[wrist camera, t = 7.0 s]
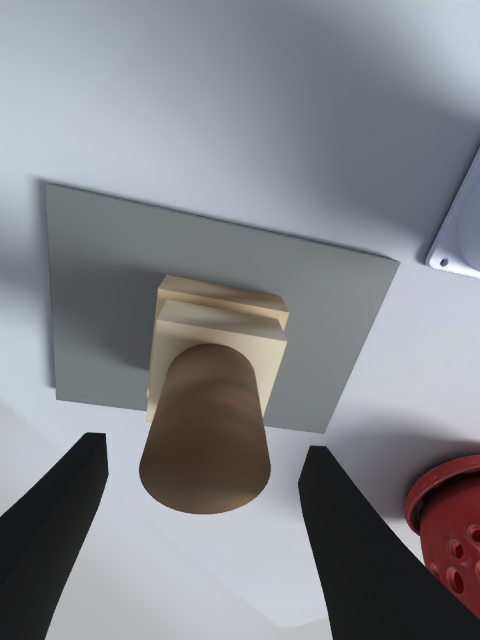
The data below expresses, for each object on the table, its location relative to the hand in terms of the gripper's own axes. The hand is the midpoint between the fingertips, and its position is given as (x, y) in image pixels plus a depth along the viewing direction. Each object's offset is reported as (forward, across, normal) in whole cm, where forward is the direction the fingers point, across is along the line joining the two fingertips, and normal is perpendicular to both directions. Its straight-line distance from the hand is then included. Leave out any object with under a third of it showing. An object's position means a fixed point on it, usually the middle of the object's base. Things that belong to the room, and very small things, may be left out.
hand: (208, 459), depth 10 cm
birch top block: (+7, 0, 0) cm, 7 cm away
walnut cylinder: (+4, 0, 0) cm, 4 cm away
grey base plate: (+10, 0, 0) cm, 10 cm away
